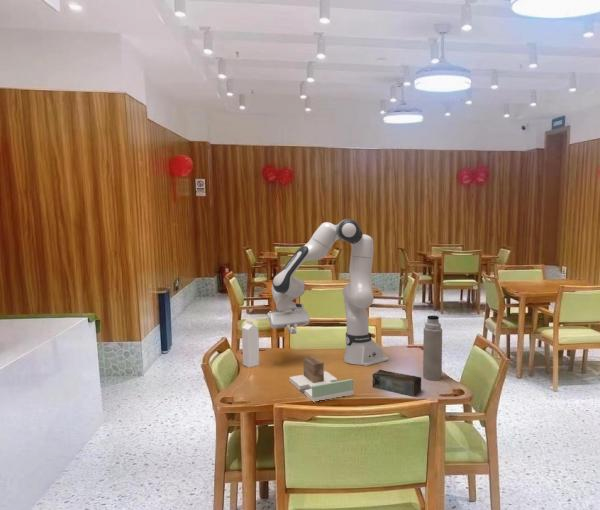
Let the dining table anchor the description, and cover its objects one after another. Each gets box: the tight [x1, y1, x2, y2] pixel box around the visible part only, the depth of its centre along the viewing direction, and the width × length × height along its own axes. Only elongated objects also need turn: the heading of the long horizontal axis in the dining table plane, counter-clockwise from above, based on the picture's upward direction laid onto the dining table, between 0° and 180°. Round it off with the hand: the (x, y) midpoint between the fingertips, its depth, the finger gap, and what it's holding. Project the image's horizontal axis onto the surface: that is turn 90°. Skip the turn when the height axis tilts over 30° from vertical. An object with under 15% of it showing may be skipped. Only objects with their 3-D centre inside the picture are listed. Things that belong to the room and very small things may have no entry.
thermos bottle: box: [422, 315, 443, 382], centre depth 198 cm, size 8×8×28 cm
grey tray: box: [289, 370, 354, 403], centre depth 188 cm, size 18×25×6 cm
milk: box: [241, 320, 260, 368], centre depth 219 cm, size 6×6×22 cm
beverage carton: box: [371, 369, 422, 397], centre depth 186 cm, size 8×19×7 cm, turn 55°
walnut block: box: [303, 356, 325, 383], centre depth 194 cm, size 5×10×8 cm, turn 23°
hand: (293, 333), depth 214 cm, fingers closed
